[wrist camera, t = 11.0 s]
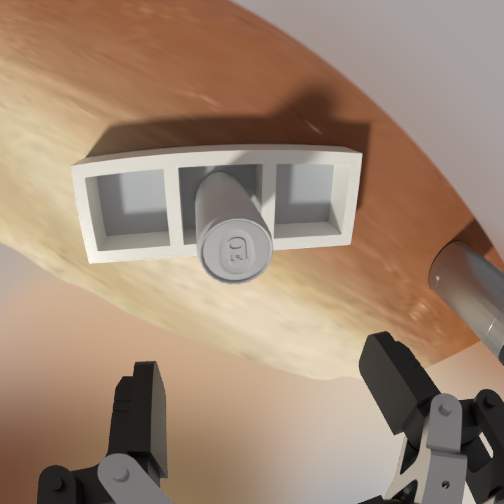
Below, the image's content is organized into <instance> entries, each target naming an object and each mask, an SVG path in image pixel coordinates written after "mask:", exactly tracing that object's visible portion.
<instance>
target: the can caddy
mask: <svg viewBox="0 0 504 504" xmlns="http://www.w3.org/2000/svg"><path fill="white" fill-rule="evenodd" d="M361 163H362V153H360V152H357V151H354V150H352V149H349V148H346V147H344V146H328V145H306V144H221V145H199V146H183V147H169V148H157V149H147V150H137V151H128V152H120V153H112V154H105V155H98V156H91V157H85V158H83V159H82V160H80V161H78V162H77V163H75V164H73V165H72V166H71V172H72V179H73V186H74V192H75V198H76V204H77V209H78V215H79V220H80V225H81V230H82V234H83V239H84V243H85V248H86V252H87V256H88V260H89V264H91V263H105V262H119V261H133V260H146V259H160V258H174V257H188V256H198V254H197V244H196V214H195V196H196V191H197V189H198V186H199V185H200V183H201V182H202V181H203V180H204V179H205V178H206V177H207V176H209V175H211V174H213V173H217V172H226V173H229V174H232V175H233V176H235V177H236V178H237V179H238V180H239V181H240V182H241V184H242V185H243V187H244V189H245V191H246V192H247V194H248V196H249V197H250V199H251V201H252V202H253V204H254V205H255V207H256V208H257V210H258V211H259V213H260V214H261V216H262V218H263V219H264V221H265V223H266V225H267V227H268V229H269V231H270V233H271V236H272V242H273V250H284V249H298V248H312V247H326V246H340V245H350V243H351V237H352V231H353V225H354V218H355V211H356V204H357V197H358V189H359V180H360V172H361Z"/></svg>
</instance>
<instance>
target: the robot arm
mask: <svg viewBox="0 0 504 504" xmlns="http://www.w3.org/2000/svg"><path fill="white" fill-rule="evenodd" d="M429 286H430V288H431V289H432V290H433V291H434V292H435V293H436V294H437V295H438V296H439V297H440V298H441V299H442V300H443V301H444V302H445V303H446V304H447V305H448V306H449V307H450V308H451V309H452V310H453V311H454V312H455V313H456V314H457V315H458V316H459V317H460V318H461V320H462V321H463V322H464V323H465V324H466V325H467V326H468V327H469V328H470V329H471V330H472V331H473V332H474V333H475V334H476V336H477V337H478V338H479V339H480V340H481V341H482V342H483V343H484V344H485V345H486V346H487V347H488V349H489V350H490V351H491V352H492V353H493V354H494V355H495V356H496V358H497V359H498V360H499V361H500V362H501V363H502V365H503V366H504V272H502V271H501V270H500V269H499V268H497V267H496V266H495V265H493V264H492V263H491V262H490V261H488V260H487V259H486V258H484V257H483V256H482V255H480V254H479V253H478V252H476V251H475V250H474V249H472V248H471V247H469V246H468V245H467V244H465V243H464V242H462V241H455V242H452V243H450V244H449V245H447V246H446V247H445V248H444V249H443V250H442V251H441V252H440V253H439V254H438V256H437V257H436V259H435V261H434V263H433V264H432V267H431V270H430V273H429ZM420 365H421V364H420V363H419V362H418V360H417V359H415V356H414V355H413V353H412V352H411V351H410V349H409V348H408V347H406V346H405V345H404V344H402V343H401V342H399V341H395V340H394V339H393V337H392V336H391V335H390V333H389V332H387V331H384V332H380V333H375V334H371V335H369V336H368V337H367V339H366V342H365V345H364V348H363V351H362V354H361V357H360V360H359V370H360V373H361V376H362V377H363V379H364V381H365V383H366V385H367V386H368V388H369V390H370V392H371V394H372V395H373V397H374V399H375V401H376V403H377V405H378V406H379V408H380V410H381V412H382V414H383V416H384V418H385V419H386V421H387V423H388V425H389V427H390V429H391V431H392V432H393V434H394V435H396V434H399V433H402V432H404V433H405V435H406V436H405V438H404V440H403V445H402V449H401V454H400V458H399V463H398V466H397V470H396V474H395V477H394V480H393V481H392V483H391V485H390V486H389V488H388V490H387V492H386V495H385V498H384V499H383V498H382V496H381V495H379V496H377V497H374V498H372V499H369V500H367V501H364V502H361V503H358V504H462V499H463V493H464V486H465V480H466V483H467V485H468V487H469V489H470V491H471V493H472V495H473V498H474V500H475V502H476V504H504V402H503V401H502V399H501V398H500V396H499V395H498V394H497V393H496V392H494V391H493V390H490V389H483V390H481V391H480V392H479V393H478V394H477V396H476V397H475V398H474V399H467V400H457V398H455V397H454V396H452V395H450V394H442V393H441V392H440V391H439V390H438V388H437V387H436V385H435V384H434V383H433V381H432V380H431V378H430V377H429V375H428V374H427V373H426V371H425V370H424V368H423V367H422V366H420ZM482 432H483V434H484V436H485V437H486V439H487V441H488V443H489V444H490V446H491V448H492V450H493V458H491V457H490V455H489V453H488V451H487V450H486V448H485V446H484V444H483V443H482V441H481V439H480V437H479V435H480V433H482ZM160 478H168V471H167V445H166V395H165V389H164V385H163V382H162V378H161V375H160V372H159V368H158V365H157V362H156V361H146V362H135V365H134V372H133V376H123V377H122V379H121V380H120V382H119V383H118V385H117V387H116V389H115V396H114V404H113V413H112V418H111V428H110V436H109V446H108V452H107V454H106V456H105V458H104V459H103V460H102V461H101V462H100V463H99V464H98V465H96V466H94V467H90V468H85V469H80V470H75V471H69V470H68V469H66V468H64V467H62V466H58V465H53V466H49V467H47V468H46V469H44V470H43V471H42V473H41V474H40V477H39V482H38V495H37V504H175V503H174V502H172V500H171V499H170V498H169V497H167V495H166V494H165V493H164V492H163V491H162V490H161V489H160Z"/></svg>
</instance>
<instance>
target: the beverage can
mask: <svg viewBox="0 0 504 504" xmlns="http://www.w3.org/2000/svg"><path fill="white" fill-rule="evenodd" d="M195 214H196V244H197V254H198V257H199V260H200V262H201V265H202V267H203V268H204V270H205V271H206V273H207V274H208V275H209V276H211V277H212V278H213V279H215V280H217V281H219V282H221V283H226V284H242V283H246V282H249V281H251V280H253V279H255V278H257V277H258V276H259V275H261V274H262V273H263V272H264V271H265V270H266V268H267V267H268V266H269V264H270V261H271V259H272V256H273V242H272V236H271V233H270V231H269V229H268V227H267V225H266V223H265V221H264V219H263V218H262V216H261V214H260V213H259V211H258V210H257V208H256V207H255V205H254V204H253V202H252V201H251V199H250V197H249V196H248V194H247V192H246V191H245V189H244V187H243V185H242V184H241V182H240V181H239V180H238V179H237V178H236V177H235V176H233V175H232V174H229V173H226V172H217V173H213V174H211V175H209V176H207V177H206V178H205V179H204V180H203V181H202V182H201V183H200V185H199V186H198V189H197V191H196V196H195Z"/></svg>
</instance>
